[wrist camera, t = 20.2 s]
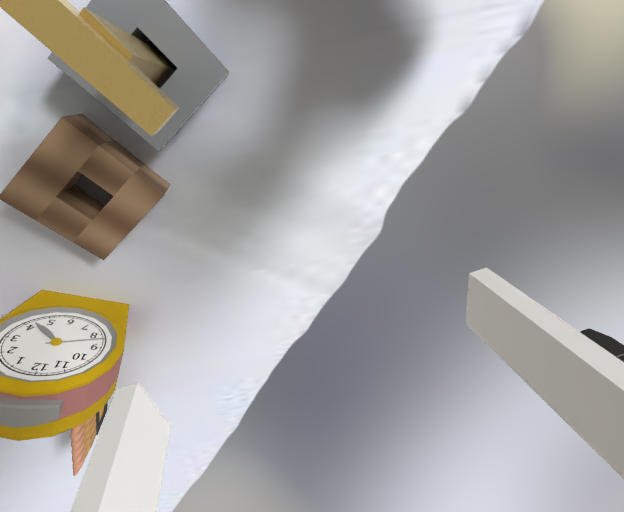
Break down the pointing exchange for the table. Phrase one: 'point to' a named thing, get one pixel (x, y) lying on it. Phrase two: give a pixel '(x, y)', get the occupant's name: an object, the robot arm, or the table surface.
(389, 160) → the table surface
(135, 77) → the t key
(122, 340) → the alarm clock
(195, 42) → the block
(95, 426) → the ammunition clip
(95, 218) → the block
